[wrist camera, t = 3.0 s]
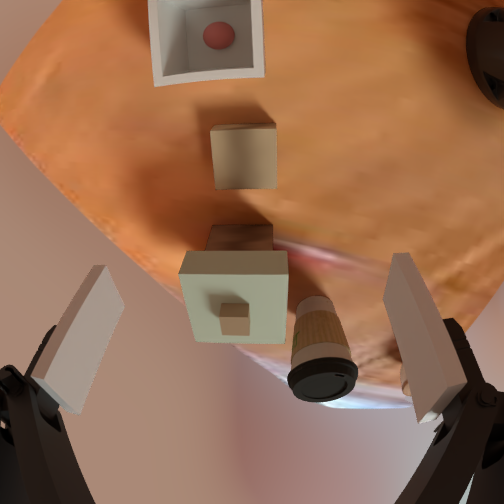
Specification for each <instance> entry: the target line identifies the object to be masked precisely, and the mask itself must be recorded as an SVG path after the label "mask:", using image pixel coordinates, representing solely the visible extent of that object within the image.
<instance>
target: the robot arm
mask: <svg viewBox="0 0 504 504" xmlns="http://www.w3.org/2000/svg"><path fill="white" fill-rule="evenodd" d="M466 47H467V56H468V61H469V65H470V69H471V72H472V74H473V77H474V79H475V81H476V83H477V85H478V87H479V88H480V90H481V91H482V93H483V94H484V95H485V96H486V98H487V99H488V100H489V101H490V102H492V103H493V104H494V105H496V106H497V107H499V108H502V109H504V8H502V7H490V8H484V9H482V10H480V11H479V12H477V13H476V14H475V15H474V17H473V18H472V20H471V22H470V24H469V27H468V31H467V39H466ZM383 301H384V304H385V307H386V310H387V313H388V316H389V319H390V322H391V326H392V329H393V332H394V335H395V338H396V342H397V345H398V348H399V352H400V355H401V358H402V362H403V366H404V369H405V373H406V376H407V380H408V384H409V388H410V392H411V396H412V400H413V404H414V408H415V413H416V417H417V422H418V424H419V423H423V422H427V421H432V420H435V419H437V417H438V416H439V415H440V414H441V413H442V415H443V419H444V420H443V421H442V422H441V424H440V425H439V426H438V427H437V428H436V429H435V430H434V432H437V433H436V435H435V437H434V439H433V441H432V443H431V445H430V447H429V449H428V450H427V453H426V454H425V456H424V458H423V459H422V461H421V463H420V465H419V466H418V468H417V470H416V472H415V473H414V474H413V476H412V478H411V480H410V481H409V482H408V484H407V486H406V487H405V489H404V490H403V492H402V493H401V495H400V496H399V498H398V499H397V500H396V502H395V504H459V502H460V500H461V498H462V496H463V495H464V493H465V490H466V489H467V486H468V484H469V482H470V480H471V478H472V476H473V474H474V476H473V481H472V485H471V488H470V492H469V495H468V499H467V502H466V504H504V392H499V391H497V390H496V389H495V387H494V386H493V385H491V384H489V383H486V382H485V380H484V378H483V376H482V373H481V371H480V368H479V366H478V364H477V361H476V359H475V356H474V354H473V351H472V349H471V348H470V345H469V342H468V340H466V336H465V333H464V331H463V329H462V327H461V326H460V325H459V324H458V323H457V322H456V321H455V320H454V319H453V318H448V319H442V318H441V316H440V313H439V311H438V309H437V307H436V305H435V303H434V301H433V298H432V296H431V294H430V292H429V290H428V288H427V286H426V284H425V282H424V280H423V278H422V276H421V275H420V273H419V271H418V269H417V267H416V265H415V263H414V261H413V259H412V258H411V256H410V254H409V253H393V257H392V262H391V267H390V271H389V276H388V280H387V284H386V288H385V293H384V297H383ZM124 307H125V305H124V303H123V301H122V299H121V297H120V295H119V293H118V291H117V288H116V286H115V284H114V282H113V279H112V277H111V275H110V273H109V270H108V268H107V266H106V265H94V266H93V268H92V269H91V271H90V272H89V274H88V275H87V277H86V278H85V280H84V282H83V283H82V285H81V286H80V288H79V290H78V291H77V293H76V294H75V296H74V297H73V299H72V301H71V302H70V304H69V306H68V307H67V309H66V311H65V313H64V314H63V316H62V318H61V319H60V321H59V323H58V325H54V326H53V327H52V328H51V329H50V330H49V331H48V332H47V333H46V335H45V337H44V339H43V341H42V344H40V346H39V348H38V351H37V352H36V354H35V355H34V357H33V359H32V361H31V363H30V365H29V367H28V369H27V371H26V373H25V375H24V376H23V375H22V374H21V373H20V372H19V371H18V370H17V369H16V368H15V367H14V366H13V365H6V366H4V367H3V368H1V369H0V425H1V421H2V422H4V423H5V429H4V428H2V427H1V426H0V504H95V502H94V500H93V497H92V495H91V493H90V491H89V489H88V487H87V484H86V482H85V480H84V477H83V475H82V473H81V470H80V468H79V465H78V463H77V460H76V457H75V455H74V452H73V449H72V446H71V444H70V441H69V438H68V435H67V432H66V429H65V426H64V423H63V420H62V416H61V414H60V412H59V411H58V408H59V405H60V406H61V407H62V408H63V409H64V410H66V411H67V412H70V413H73V414H77V415H80V414H81V411H82V408H83V406H84V403H85V400H86V398H87V395H88V392H89V390H90V387H91V384H92V382H93V379H94V377H95V374H96V372H97V369H98V367H99V364H100V362H101V359H102V357H103V355H104V352H105V350H106V347H107V345H108V343H109V341H110V338H111V336H112V333H113V331H114V329H115V327H116V324H117V322H118V320H119V318H120V316H121V313H122V311H123V309H124Z"/></svg>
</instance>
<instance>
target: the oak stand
mask: <svg viewBox="0 0 504 504" xmlns="http://www.w3.org/2000/svg"><path fill="white" fill-rule="evenodd" d="M210 137H211V148H212V159H213V170H214V180H215V190H227V189H277V131H276V123H250V124H225V125H214V126H213V128H212V129H211V130H210Z"/></svg>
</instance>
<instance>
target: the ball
mask: <svg viewBox="0 0 504 504" xmlns="http://www.w3.org/2000/svg"><path fill="white" fill-rule="evenodd" d="M234 37H235V33H234V30H233V28H232V27H231V26H230V25H229V24H227V23H225V22H214V23H211V24H210V25H208V26H207V27H206V28H205V30H204V32H203V40H204V42H205V44H206V45H207V46H208V47H210V48H212V49H216V50H220V49H224V48H227V47H228V46H230V45H231V44H232V42H233V40H234Z"/></svg>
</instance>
